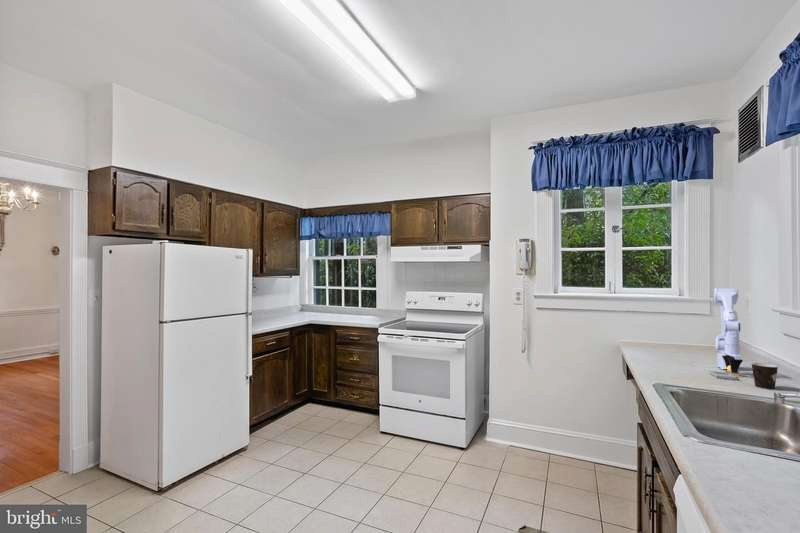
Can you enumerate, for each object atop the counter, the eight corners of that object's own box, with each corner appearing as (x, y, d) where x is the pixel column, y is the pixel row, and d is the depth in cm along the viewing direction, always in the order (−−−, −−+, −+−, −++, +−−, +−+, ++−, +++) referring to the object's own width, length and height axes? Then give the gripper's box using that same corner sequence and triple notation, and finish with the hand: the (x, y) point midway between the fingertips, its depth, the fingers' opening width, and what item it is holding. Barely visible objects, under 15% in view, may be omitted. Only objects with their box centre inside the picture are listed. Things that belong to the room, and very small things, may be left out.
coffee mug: (766, 385, 175) (766, 363, 175) (783, 390, 167) (783, 367, 167) (739, 383, 176) (739, 362, 177) (755, 389, 168) (754, 366, 168)
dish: (718, 372, 199) (718, 369, 199) (739, 374, 196) (739, 371, 196) (725, 375, 192) (725, 373, 192) (746, 377, 188) (746, 374, 188)
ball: (725, 372, 197) (725, 363, 197) (736, 373, 195) (735, 364, 195) (728, 374, 193) (728, 365, 193) (739, 375, 191) (739, 366, 191)
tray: (710, 373, 195) (709, 371, 195) (729, 375, 192) (729, 372, 192) (717, 378, 186) (717, 375, 186) (737, 380, 183) (737, 377, 183)
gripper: (716, 341, 202) (717, 367, 202) (727, 346, 189) (727, 373, 189) (733, 342, 200) (734, 369, 199) (745, 347, 186) (746, 375, 186)
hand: (732, 371), depth 194 cm, fingers open, 5 cm apart
